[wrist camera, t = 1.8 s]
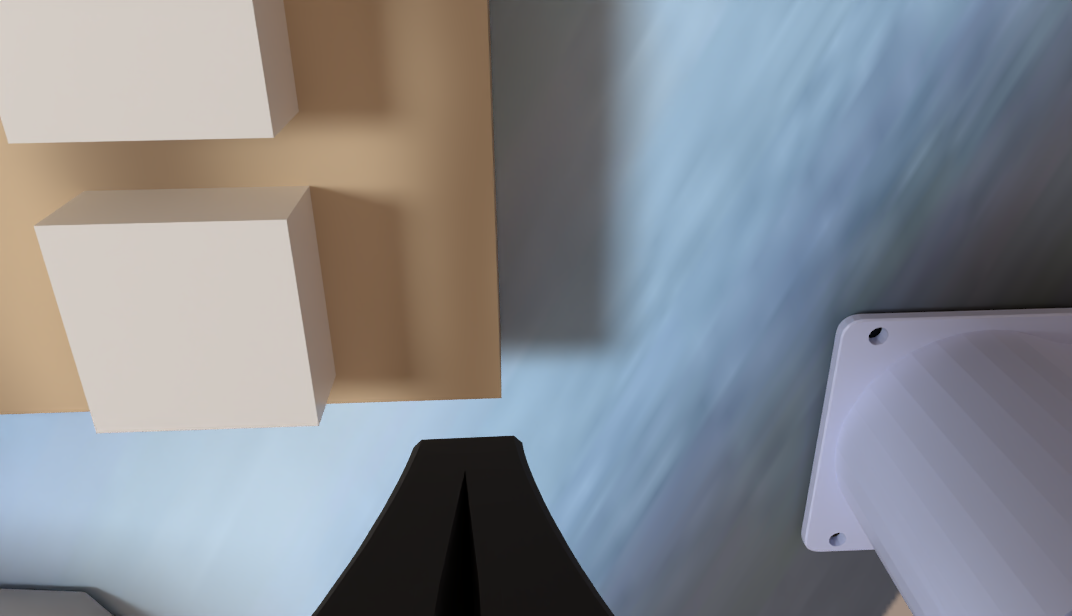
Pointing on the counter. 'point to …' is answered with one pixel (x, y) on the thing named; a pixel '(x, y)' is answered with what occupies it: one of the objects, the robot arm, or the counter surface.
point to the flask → (48, 603)
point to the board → (316, 204)
